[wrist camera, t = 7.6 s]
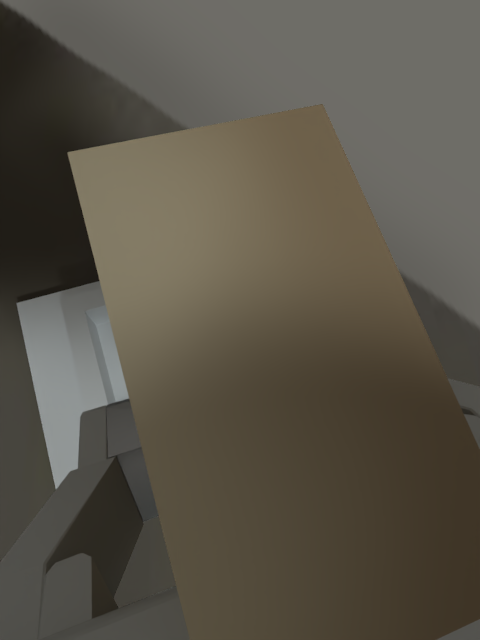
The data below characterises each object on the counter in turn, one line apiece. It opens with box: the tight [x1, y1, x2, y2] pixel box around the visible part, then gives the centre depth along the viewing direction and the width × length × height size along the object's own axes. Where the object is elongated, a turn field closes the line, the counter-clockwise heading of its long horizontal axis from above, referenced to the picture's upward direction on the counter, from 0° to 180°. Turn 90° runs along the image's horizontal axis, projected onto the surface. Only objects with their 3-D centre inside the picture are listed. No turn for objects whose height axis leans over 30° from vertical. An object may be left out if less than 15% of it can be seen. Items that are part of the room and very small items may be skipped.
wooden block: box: [67, 104, 480, 640], centre depth 10 cm, size 3×6×12 cm, turn 18°
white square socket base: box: [16, 281, 129, 489], centre depth 26 cm, size 14×14×4 cm
